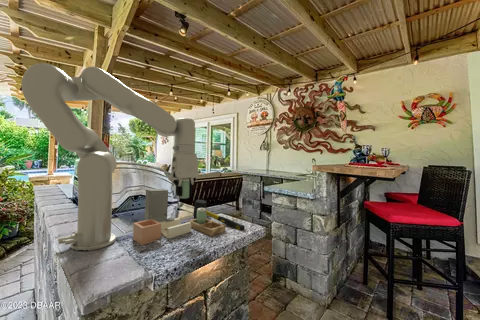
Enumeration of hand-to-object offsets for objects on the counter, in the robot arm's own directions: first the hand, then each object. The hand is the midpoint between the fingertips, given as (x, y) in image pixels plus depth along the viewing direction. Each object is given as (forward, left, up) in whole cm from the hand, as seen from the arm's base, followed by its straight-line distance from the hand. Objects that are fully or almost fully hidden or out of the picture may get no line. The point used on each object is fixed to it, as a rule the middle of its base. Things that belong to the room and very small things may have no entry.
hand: (184, 194), depth 82 cm
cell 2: (+9, 0, -15) cm, 18 cm away
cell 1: (0, 0, -1) cm, 1 cm away
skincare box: (-3, +17, -16) cm, 23 cm away
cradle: (-3, +2, -16) cm, 16 cm away
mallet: (+18, -1, -16) cm, 24 cm away
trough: (+9, -4, -16) cm, 19 cm away
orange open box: (-13, +4, -16) cm, 21 cm away
